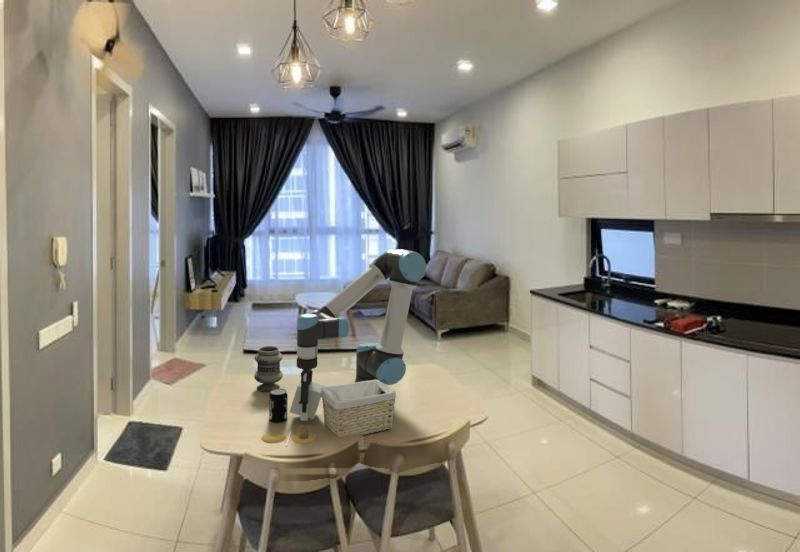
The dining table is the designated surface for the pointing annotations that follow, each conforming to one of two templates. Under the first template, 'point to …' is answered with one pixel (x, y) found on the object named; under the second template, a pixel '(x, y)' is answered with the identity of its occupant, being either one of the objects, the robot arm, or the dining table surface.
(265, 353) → the apothecary jar
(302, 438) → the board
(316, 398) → the cover
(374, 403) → the storage basket
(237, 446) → the dining table surface
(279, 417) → the beverage can
